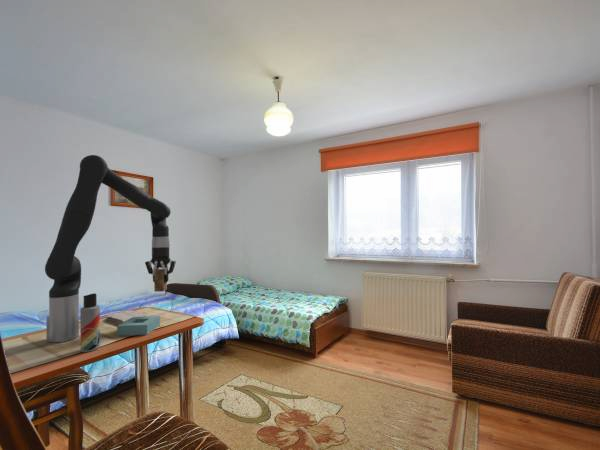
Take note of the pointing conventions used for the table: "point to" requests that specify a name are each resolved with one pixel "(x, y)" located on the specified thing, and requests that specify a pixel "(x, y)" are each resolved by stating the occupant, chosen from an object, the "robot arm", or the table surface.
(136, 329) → the socket block
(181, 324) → the table surface
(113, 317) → the washcloth
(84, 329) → the lotion bottle
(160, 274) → the peg
